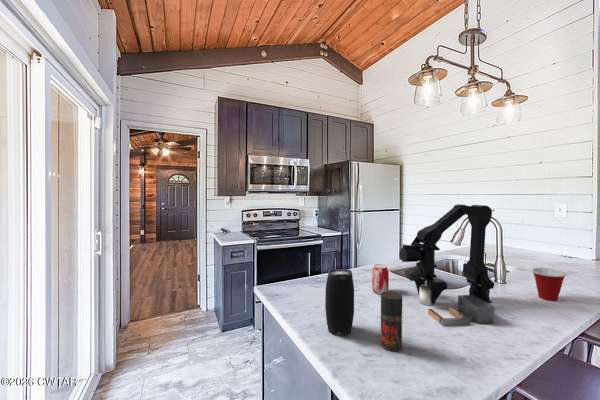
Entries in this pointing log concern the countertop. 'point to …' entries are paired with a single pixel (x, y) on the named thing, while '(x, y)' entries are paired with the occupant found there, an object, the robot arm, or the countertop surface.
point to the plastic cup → (548, 282)
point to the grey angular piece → (467, 312)
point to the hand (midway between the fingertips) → (426, 299)
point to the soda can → (380, 278)
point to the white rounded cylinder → (424, 296)
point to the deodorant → (391, 321)
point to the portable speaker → (339, 301)
